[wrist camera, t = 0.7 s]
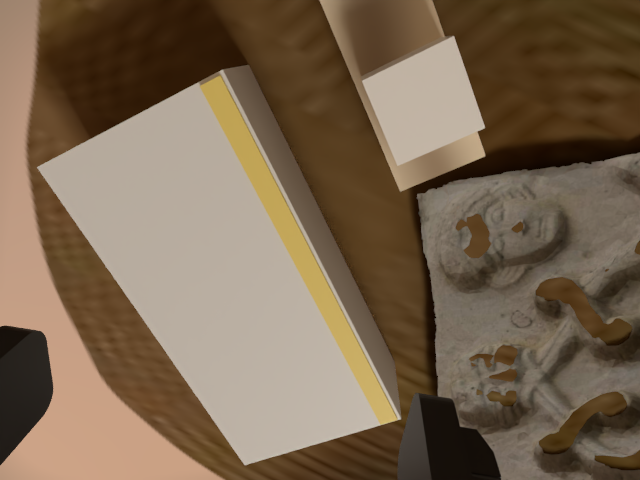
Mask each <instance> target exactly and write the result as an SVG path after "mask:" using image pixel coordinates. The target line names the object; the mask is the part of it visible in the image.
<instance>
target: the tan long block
mask: <svg viewBox="0 0 640 480" xmlns="http://www.w3.org/2000/svg"><path fill="white" fill-rule="evenodd" d="M320 3H321V5H322V7H323V10H324V12H325V14H326V17H327V19H328V22H329V24H330V26H331V29H332V31H333V33H334V36H335V38H336V41H337V43H338V45H339V48H340V50H341V52H342V55H343V57H344V60H345V62H346V64H347V67H348V69H349V71H350V74H351V76H352V78H353V81H354V83H355V86H356V88H357V90H358V93H359V95H360V97H361V100H362V102H363V105H364V107H365V109H366V112H367V114H368V116H369V119H370V121H371V124H372V126H373V128H374V131H375V133H376V135H377V138H378V140H379V143H380V145H381V147H382V150H383V152H384V154H385V157H386V159H387V162H388V164H389V166H390V169H391V171H392V173H393V176H394V178H395V181H396V183H397V185H398V188H399V190H400V192H401V191H403V190H406V189H408V188H410V187H413V186H415V185H418V184H420V183H422V182H425V181H427V180H430V179H432V178H434V177H437V176H439V175H442V174H444V173H446V172H449V171H451V170H454V169H456V168H458V167H461V166H463V165H466V164H468V163H470V162H473V161H475V160H478V159H480V158H482V157H485V153H484V150H483V147H482V144H481V141H480V138H479V135H478V132H475V133H473V134H470V135H468V136H466V137H463V138H461V139H459V140H457V141H454V142H452V143H450V144H447V145H445V146H443V147H440V148H438V149H436V150H433V151H431V152H429V153H427V154H424V155H422V156H420V157H417V158H415V159H413V160H410V161H408V162H406V163H404V164H401V165H399V166H397V164H396V161H395V159H394V157H393V154H392V152H391V149H390V147H389V145H388V142H387V140H386V138H385V135H384V133H383V130H382V128H381V126H380V123H379V121H378V119H377V116H376V114H375V111H374V109H373V107H372V104H371V102H370V99H369V97H368V95H367V92H366V90H365V88H364V85H363V83H362V79H361V76H363V75H365V74H367V73H369V72H371V71H373V70H375V69H377V68H379V67H381V66H383V65H385V64H387V63H389V62H391V61H393V60H395V59H397V58H400V57H402V56H404V55H406V54H408V53H410V52H412V51H414V50H416V49H418V48H420V47H422V46H424V45H426V44H428V43H430V42H432V41H434V40H436V39H438V38H440V37H445V36H444V33H443V30H442V27H441V24H440V21H439V18H438V15H437V13H436V10H435V7H434V4H433V1H432V0H320Z"/></svg>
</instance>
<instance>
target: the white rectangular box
mask: <svg viewBox="0 0 640 480" xmlns="http://www.w3.org/2000/svg"><path fill="white" fill-rule="evenodd" d="M37 168H38V169H39V171H40V172H41V174H42V175H43V177H44V178H45V179H46V181H47V182H48V184H49V185H50V187H51V188H52V190H53V191H54V192H55V194H56V195H57V197H58V198H59V200H60V201H61V202H62V204H63V205H64V207H65V208H66V210H67V211H68V212H69V214H70V215H71V217H72V218H73V220H74V221H75V223H76V224H77V225H78V227H79V228H80V230H81V231H82V233H83V234H84V235H85V237H86V238H87V240H88V241H89V243H90V244H91V245H92V247H93V248H94V250H95V251H96V253H97V254H98V256H99V257H100V258H101V260H102V261H103V263H104V264H105V266H106V267H107V268H108V270H109V271H110V273H111V274H112V276H113V277H114V278H115V280H116V281H117V283H118V284H119V286H120V287H121V288H122V290H123V291H124V293H125V294H126V296H127V297H128V299H129V300H130V301H131V303H132V304H133V306H134V307H135V309H136V310H137V311H138V313H139V314H140V316H141V317H142V319H143V320H144V321H145V323H146V324H147V326H148V327H149V329H150V330H151V332H152V333H153V334H154V336H155V337H156V339H157V340H158V342H159V343H160V344H161V346H162V347H163V349H164V350H165V352H166V353H167V354H168V356H169V357H170V359H171V360H172V362H173V363H174V364H175V366H176V367H177V369H178V370H179V372H180V373H181V375H182V376H183V377H184V379H185V380H186V382H187V383H188V385H189V386H190V387H191V389H192V390H193V392H194V393H195V395H196V396H197V397H198V399H199V400H200V402H201V403H202V405H203V406H204V408H205V409H206V410H207V412H208V413H209V415H210V416H211V418H212V419H213V420H214V422H215V423H216V425H217V426H218V428H219V429H220V430H221V432H222V433H223V435H224V436H225V438H226V439H227V440H228V442H229V443H230V445H231V446H232V448H233V449H234V451H235V452H236V453H237V455H238V456H239V458H240V459H241V461H242V462H243V463H244V465H247V464H250V463H254V462H257V461H261V460H264V459H267V458H271V457H274V456H278V455H281V454H284V453H288V452H291V451H295V450H298V449H301V448H305V447H308V446H311V445H315V444H318V443H322V442H325V441H328V440H332V439H335V438H339V437H342V436H345V435H349V434H352V433H356V432H359V431H362V430H366V429H369V428H373V427H376V426H379V425H383V424H386V423H389V422H393V421H396V420H400V419H401V412H400V404H399V396H398V387H397V379H396V371H395V362H394V360H393V358H392V356H391V354H390V352H389V350H388V348H387V346H386V343H385V341H384V339H383V337H382V335H381V333H380V331H379V329H378V327H377V325H376V323H375V321H374V319H373V317H372V315H371V313H370V311H369V309H368V307H367V305H366V303H365V301H364V299H363V297H362V295H361V293H360V290H359V288H358V286H357V284H356V282H355V280H354V278H353V276H352V274H351V272H350V270H349V268H348V266H347V264H346V262H345V260H344V258H343V256H342V254H341V252H340V250H339V248H338V246H337V244H336V242H335V240H334V237H333V235H332V233H331V231H330V229H329V227H328V225H327V223H326V221H325V219H324V217H323V215H322V213H321V211H320V209H319V207H318V205H317V203H316V201H315V199H314V197H313V195H312V193H311V191H310V189H309V186H308V184H307V182H306V180H305V178H304V176H303V174H302V172H301V170H300V168H299V166H298V164H297V162H296V160H295V158H294V156H293V154H292V152H291V150H290V148H289V146H288V144H287V142H286V140H285V138H284V136H283V133H282V131H281V129H280V127H279V125H278V123H277V121H276V119H275V117H274V115H273V113H272V111H271V109H270V107H269V105H268V103H267V101H266V99H265V97H264V95H263V93H262V91H261V89H260V87H259V85H258V82H257V80H256V78H255V76H254V74H253V72H252V70H251V68H250V66H249V65H244V66H239V67H233V68H228V69H222V70H221V71H219V72H217V73H215V74H213V75H211V76H209V77H207V78H205V79H203V80H202V81H200V82H198V83H196V84H194V85H192V86H190V87H188V88H186V89H185V90H183V91H181V92H179V93H177V94H175V95H173V96H171V97H169V98H167V99H166V100H164V101H162V102H160V103H158V104H156V105H154V106H152V107H150V108H148V109H147V110H145V111H143V112H141V113H139V114H137V115H135V116H133V117H131V118H130V119H128V120H126V121H124V122H122V123H120V124H118V125H116V126H114V127H112V128H111V129H109V130H107V131H105V132H103V133H101V134H99V135H97V136H95V137H94V138H92V139H90V140H88V141H86V142H84V143H82V144H80V145H78V146H76V147H75V148H73V149H71V150H69V151H67V152H65V153H63V154H61V155H59V156H58V157H56V158H54V159H52V160H50V161H48V162H46V163H44V164H42V165H40V166H39V167H37Z"/></svg>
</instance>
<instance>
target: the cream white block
mask: <svg viewBox="0 0 640 480" xmlns="http://www.w3.org/2000/svg"><path fill="white" fill-rule="evenodd" d="M361 79H362V83H363V85H364V88H365V90H366V92H367V95H368V97H369V99H370V102H371V104H372V107H373V109H374V111H375V114H376V116H377V119H378V121H379V123H380V126H381V128H382V130H383V133H384V135H385V138H386V140H387V142H388V145H389V147H390V149H391V152H392V154H393V157H394V159H395V161H396V164H397V166H399V165H401V164H404V163H406V162H408V161H410V160H413V159H415V158H417V157H420V156H422V155H424V154H427V153H429V152H431V151H433V150H436V149H438V148H440V147H443V146H445V145H447V144H450V143H452V142H454V141H457V140H459V139H461V138H463V137H466V136H468V135H470V134H473V133H475V132H477V131H480V130H482V129H484V128H485V126H484V123H483V120H482V117H481V114H480V111H479V108H478V105H477V102H476V100H475V97H474V94H473V91H472V88H471V85H470V82H469V79H468V76H467V73H466V70H465V67H464V64H463V61H462V58H461V55H460V52H459V50H458V47H457V44H456V41H455V38H454V36H446V37H440V38H438V39H436V40H434V41H432V42H430V43H428V44H426V45H424V46H422V47H420V48H418V49H416V50H414V51H412V52H410V53H408V54H406V55H404V56H402V57H400V58H397V59H395V60H393V61H391V62H389V63H387V64H385V65H383V66H381V67H379V68H377V69H375V70H373V71H371V72H369V73H367V74H365V75H363V76H361Z"/></svg>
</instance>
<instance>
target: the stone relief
mask: <svg viewBox="0 0 640 480" xmlns="http://www.w3.org/2000/svg"><path fill="white" fill-rule="evenodd" d="M453 182H454V183H453ZM453 182H449V184H447V185H443V187H440V188H437V189H435V188H433V189H428V191H427V192H426V193H421V194H417V199H418V203H419V210H420V211H419V213H418V214H419V216H420V217H421V219H420V221H421V223H422V225H421V233H422V238H421V239H423V240H424V241H423V252H424V254H425V257H426V259H427V265H428V269H430V275H429V276H430V277H431V285H432V295H433V301H434V302H435V303H434V306H435V308H434V312H435V314H436V315H435V317H436V318H435V319H434V320H435V323H436V325H437V326H436V328H437V330H436V334H435V335H436V339H435V349H436V350H435V351H436V352H435V353H436V361H437V362H436V372H437V376H438V389H437V390H438V396H439V397H445V398H451V399H452V400H453V401H454V404H455V408H456V412H457V416H458V420H459V424H460V427H466V428H472V429H477V430H478V432H479V433H480V434H481V436H482V437H483V438H484V440H485V441H486V442H487V444H488V445H489V446H490V448H491V449H492V450H493V452H494V455H495V458H496V461H497V464H498V467H499V471H500V474H501V480H640V470H619V469H613V468H610V467H609V466H605V464H603V463H599V462H597V461H595V460H594V457H595V456H594V455H607V456H617V457H626V456H629V455H632V454H636V452H637V451H638V450H640V255H638V254H636V253H635V252H634V250H635V247H636V245H637V243H638V242H639V240H640V152H639V153H637V154H629V155H624V156H620V157H616V158H612V159H608V160H605V161H604V162H603V161H597V162H592V164H588V163H584V162H581V163H579V164H577V163H574V164H572V165H571V166H562V167H559V168H557V167H555V166H554V167H549V168H543V169H535V170H530V171H527V169H524V170H521V172H520V171H519V170H518V171H510V172H504V173H502V174H497V175H491V176H485V177H482V178H481V177H478V178H469V179H465V180H457V181H453ZM476 213H477V214H480V215H481V216H482V218H483V221H484V222H485V224H486V225H487V227H488V230H489V232H490V235H489V240H490V242H491V243H492V244H491V246H490V247H489V249H488V251H487V252H486V253H485V254H483V256H481V257H480V258H470V257H469V256H467V255H466V254H465V253H464V251H463V250H464V249H465V248H466V247H467V246H469V243H470V239H471V237H472V235H471V232H470V231H469V229H468V227H467V226H466V227H463V228H462V229H461V230H459V231H457V230H456V229H455V227H456V224H457V222H458V221H459V220H460V219H462V220H464V221H466V220H467V217H470V216H473V215H475V214H476ZM519 221H521V222H522V223H523V226H524V227H523V230H522V231H521V232H519V233H516V232H513V231H512V230H511V228H512V227H513V226H515V225H516V224H517V223H518V222H519ZM607 268H609V270H608V271H607V272H605V269H607ZM557 277H564V278H567V279H570V280H573V281H574V283H575V284H576V285H578V286H579V287H580V288H581V290H582V291H583V292H584V294H585V295H586V297H587V299H588V302H589V304H590V305H591V307H592V308H593V309H594V311H595V312H596V313H597V314H598V315H600V316H601V318H602V321H603V323H606V324H610V323H612V322H613V321H614V319H616V318H620V319H622V320H624V321H626V322H628V323H629V324H631V326H632V327H633V329H632V332H631V334H630V337H629V339H627V340H626V341H625V342H623V343H622V344H620V345H618V346H607V345H606V343H605V342H603V341H602V340H601V339H600V338H592V336H591V335H590V334H589V333H588V332H587V331H586V330H585V329H584V328H583V326H582V325H581V323H580V322H579V320H578V319H577V317H576V315H575V312H574V310H573V309H572V308H571V306H570V305H569V304H564V303H563V302H561V301H560V300H555V301H546V300H545V299H544V298H543V297H540V296H536V293H535V291H536V289H537V288H538V286H539V284H540V283H541V282H543V281H545V280H547V279H550V278H557ZM501 345H511V346H513V347H515V348H517V351H518V355H517V357H516V358H515V360H514V364H513V365H511V366H508V365H505V364H503V363H500V362H497V363H495V364H494V357H493V358H492V359H491V361H490V362H491V363H492V364H493V365H492V366H491V367H490V368H487V367H486V365H485V362H484V359H482V358H478V359H476V360H474V361H472V363H474V364H476V365H477V366H474V367H472V366H471V362H470V360H469V359H468V358H470V357H472V356H474V355H475V354H491V355H494V354H495V352H496V351H497V349H498V348H499V347H500V346H501ZM509 368H511V369H515V370H516V371H517V373H518V374H517V377H516V378H515V380H514V381H513V382H507V381H503V380H496V379H490V378H488V377H489V376H491V375H493V374H498V373H501V372H503V371H506V370H508V369H509ZM477 389H479V390H481V391H482V392H483V394H482V395H476V390H477ZM492 390H493V391H497V392H500V393H501V395H506V394H505V393H506V392H507V391H508V390H514V391H516V392H517V400H516V403H515V404H514V405H513V406H510V407H504V406H502V405H501V404H500V403H499V401H498V402H490V401H489V399H488V398H487V396H486V395H487V394H488V393H489V392H491V391H492ZM614 391H617V392H619V393H621V394H623V396H624V398H625V400H626V401H627V408H626V409H625V410H624V411H623V412H622V413H621V414H619V415H616V416H613V417H608V416H605V415H604V414H603V413H602V412H598V413H596V414H594V415H593V416H591V417H590V418H589V419H588V420H587V422H586V423H585V425H584V426H583V427H582V428H581V429H580V431H579V433H578V435H577V436H576V438H575V440H574V443H573V444H572V445H571V447H570V448H569V449H568V450H567V451H566V452H564V453H561V454H553V455H550V454H546V453H543V450H542V448H541V447H540V446H539V441H540V440H541V439H542V438H544V437H545V436H546V435H548V434H554V433H556V432H558V431H559V429H560V427H561V426H562V425H563V424H564V423H565V421H566V420H567V419H568V418H569V417H570V416H571V414H572V412H573V411H575V410H576V409H578V408H579V407H580V406H582V405H583V404H584V403H586V402H587V401H589V400H591V399H593V398H595V397H597V396H599V395H601V394H604V393H608V392H614Z"/></svg>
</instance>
